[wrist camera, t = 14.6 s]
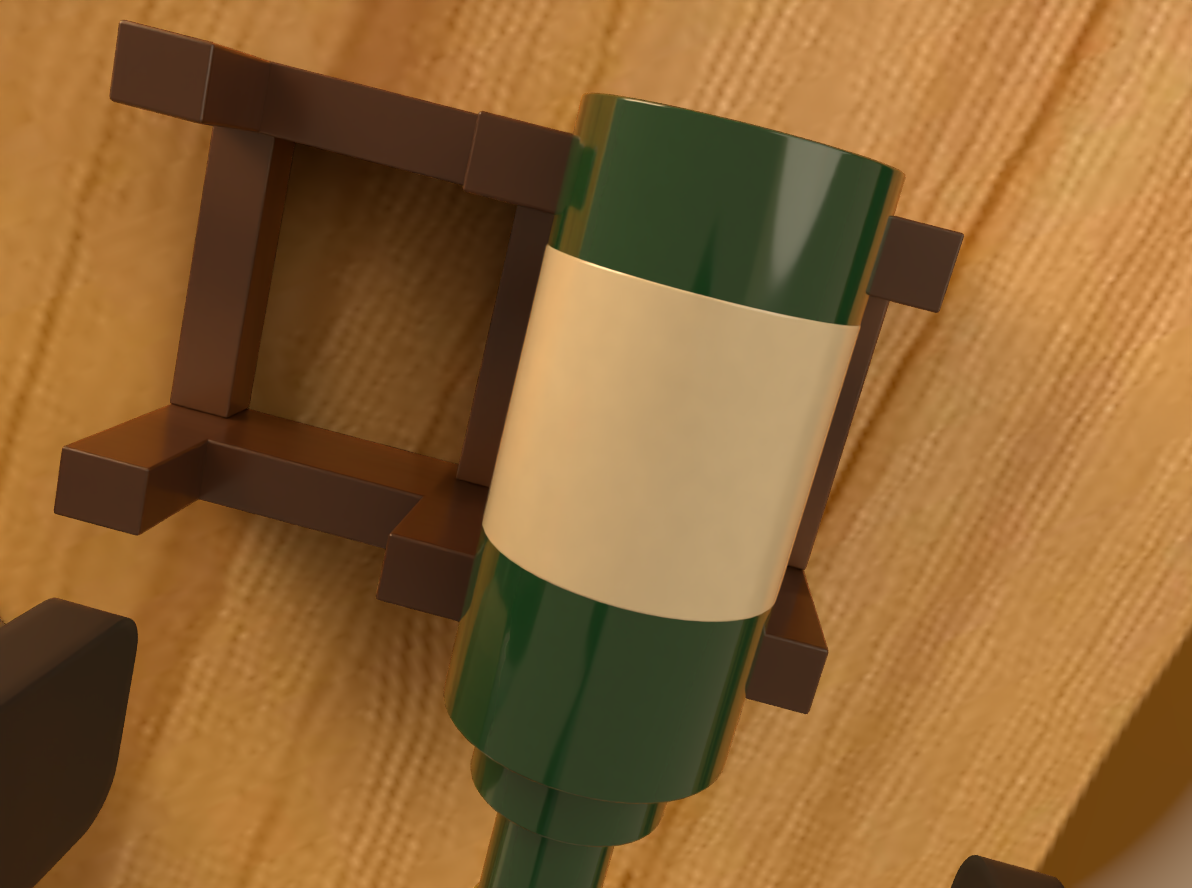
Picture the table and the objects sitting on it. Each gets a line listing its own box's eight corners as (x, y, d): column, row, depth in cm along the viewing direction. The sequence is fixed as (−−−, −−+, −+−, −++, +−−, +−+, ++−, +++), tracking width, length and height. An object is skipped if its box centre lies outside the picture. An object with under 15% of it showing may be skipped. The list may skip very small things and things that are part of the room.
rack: (783, 606, 30) (808, 716, 23) (185, 448, 30) (51, 514, 24) (901, 225, 27) (965, 233, 21) (248, 59, 28) (117, 18, 21)
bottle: (596, 108, 23) (561, 76, 17) (877, 179, 22) (941, 171, 17) (423, 842, 27) (346, 1021, 21) (658, 907, 27) (646, 1106, 21)
